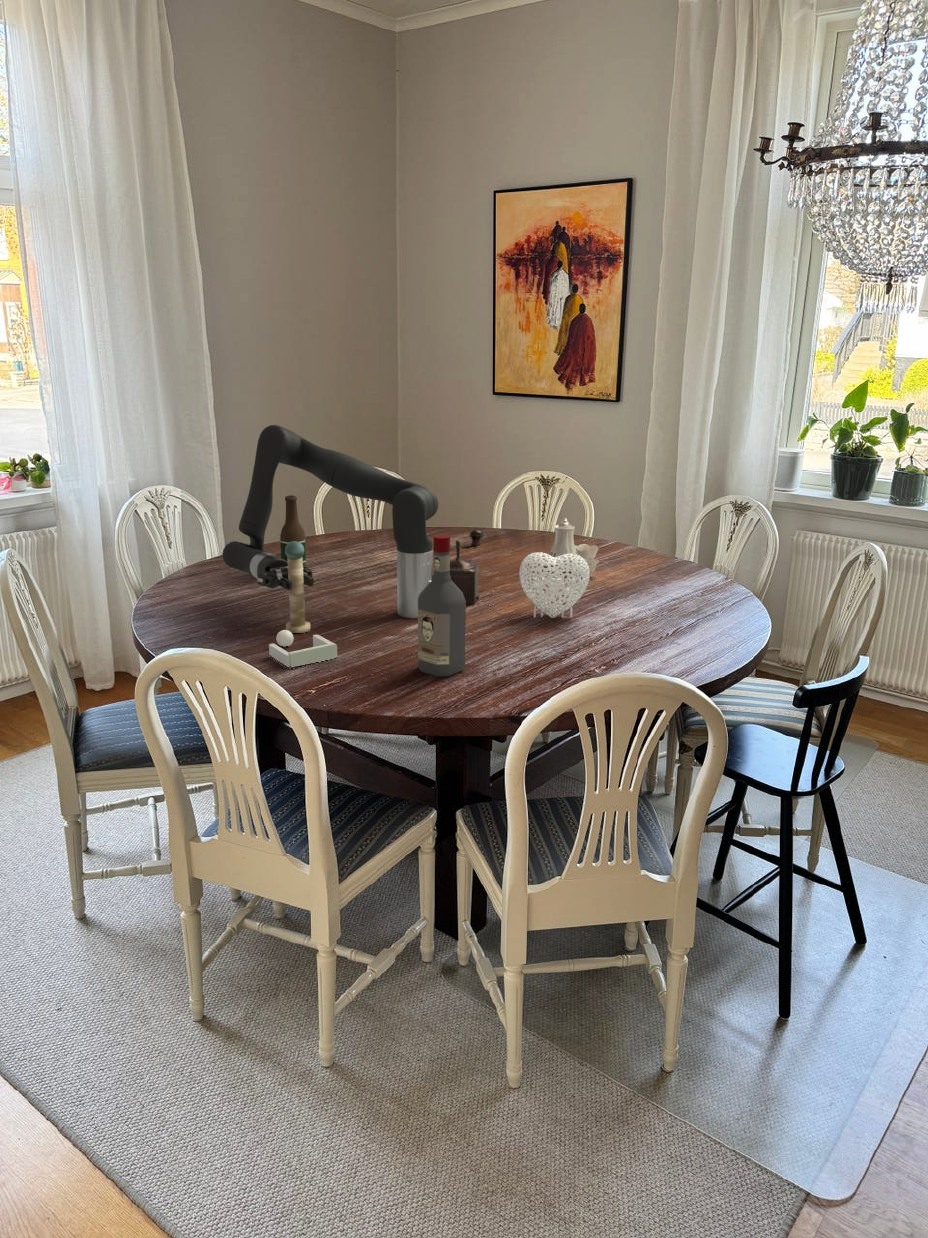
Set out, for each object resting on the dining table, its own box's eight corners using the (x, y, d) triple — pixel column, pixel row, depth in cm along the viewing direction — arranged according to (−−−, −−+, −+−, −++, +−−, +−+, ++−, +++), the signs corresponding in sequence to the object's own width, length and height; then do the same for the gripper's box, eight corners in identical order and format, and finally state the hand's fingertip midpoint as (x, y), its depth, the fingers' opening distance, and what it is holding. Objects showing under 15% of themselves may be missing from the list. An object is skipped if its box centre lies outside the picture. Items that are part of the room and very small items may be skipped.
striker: (312, 626, 235) (309, 538, 228) (307, 634, 229) (303, 544, 222) (289, 626, 235) (284, 538, 228) (283, 633, 229) (278, 543, 222)
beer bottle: (311, 573, 284) (308, 494, 276) (300, 579, 277) (297, 499, 269) (288, 571, 286) (284, 492, 278) (276, 577, 279) (272, 497, 271)
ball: (295, 643, 222) (294, 627, 221) (291, 649, 219) (291, 633, 217) (279, 643, 223) (278, 627, 221) (274, 649, 219) (273, 632, 218)
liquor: (439, 658, 214) (439, 529, 204) (470, 668, 208) (472, 536, 199) (412, 669, 207) (411, 536, 198) (443, 679, 201) (444, 543, 192)
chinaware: (601, 587, 278) (610, 533, 273) (545, 580, 278) (553, 526, 273) (594, 564, 305) (602, 513, 299) (543, 557, 305) (550, 507, 300)
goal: (269, 656, 214) (268, 642, 213) (317, 646, 221) (317, 632, 220) (289, 669, 206) (288, 654, 205) (338, 658, 213) (338, 643, 212)
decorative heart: (516, 621, 240) (518, 556, 235) (519, 609, 250) (521, 547, 245) (587, 625, 238) (590, 559, 233) (587, 612, 248) (590, 549, 243)
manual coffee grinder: (476, 605, 254) (477, 540, 248) (436, 603, 255) (436, 538, 250) (483, 589, 268) (484, 528, 263) (445, 588, 270) (445, 526, 264)
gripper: (242, 558, 234) (273, 573, 221) (294, 551, 242) (326, 564, 229) (244, 587, 236) (274, 603, 223) (296, 579, 244) (327, 594, 231)
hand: (301, 583), depth 226 cm, fingers open, 5 cm apart
